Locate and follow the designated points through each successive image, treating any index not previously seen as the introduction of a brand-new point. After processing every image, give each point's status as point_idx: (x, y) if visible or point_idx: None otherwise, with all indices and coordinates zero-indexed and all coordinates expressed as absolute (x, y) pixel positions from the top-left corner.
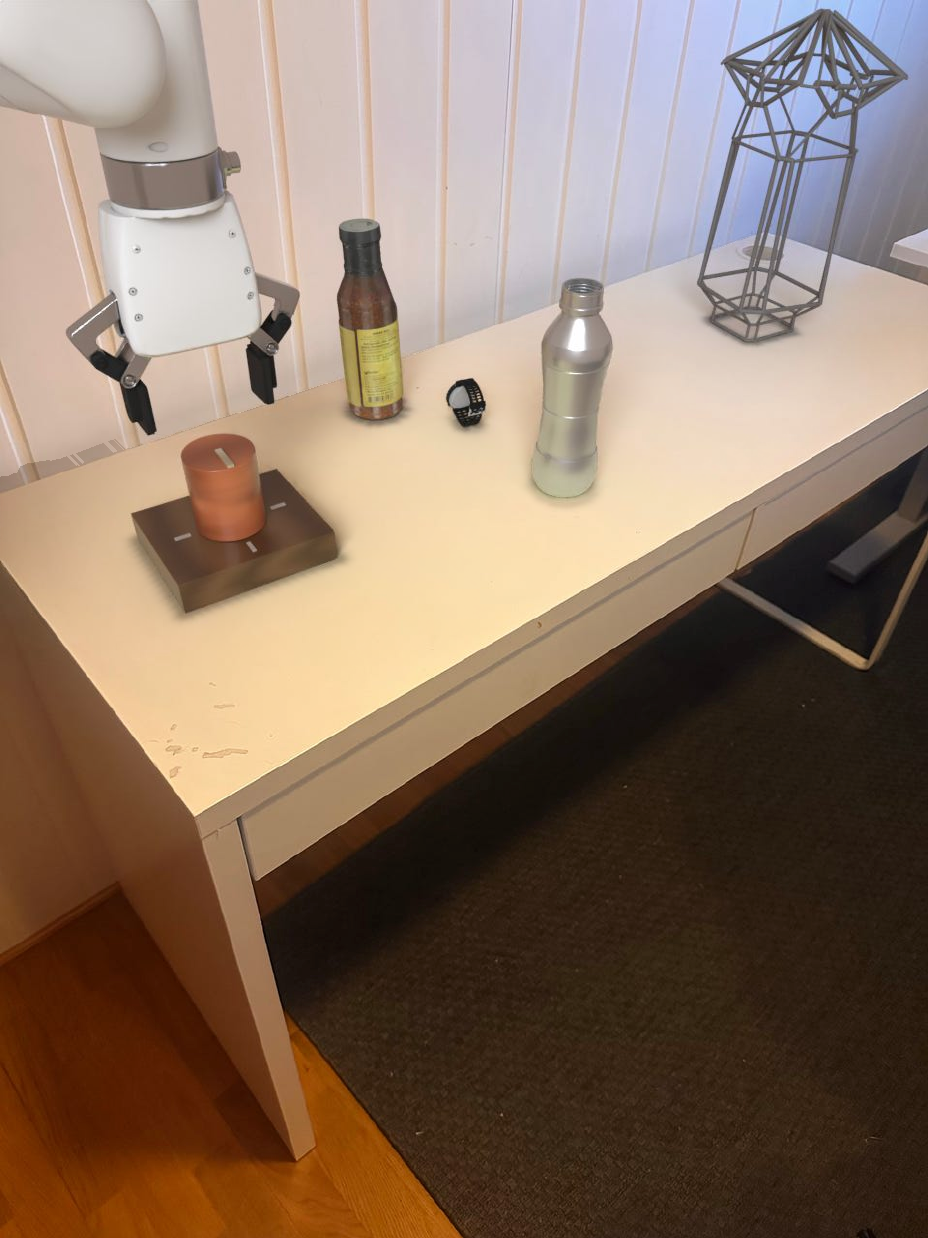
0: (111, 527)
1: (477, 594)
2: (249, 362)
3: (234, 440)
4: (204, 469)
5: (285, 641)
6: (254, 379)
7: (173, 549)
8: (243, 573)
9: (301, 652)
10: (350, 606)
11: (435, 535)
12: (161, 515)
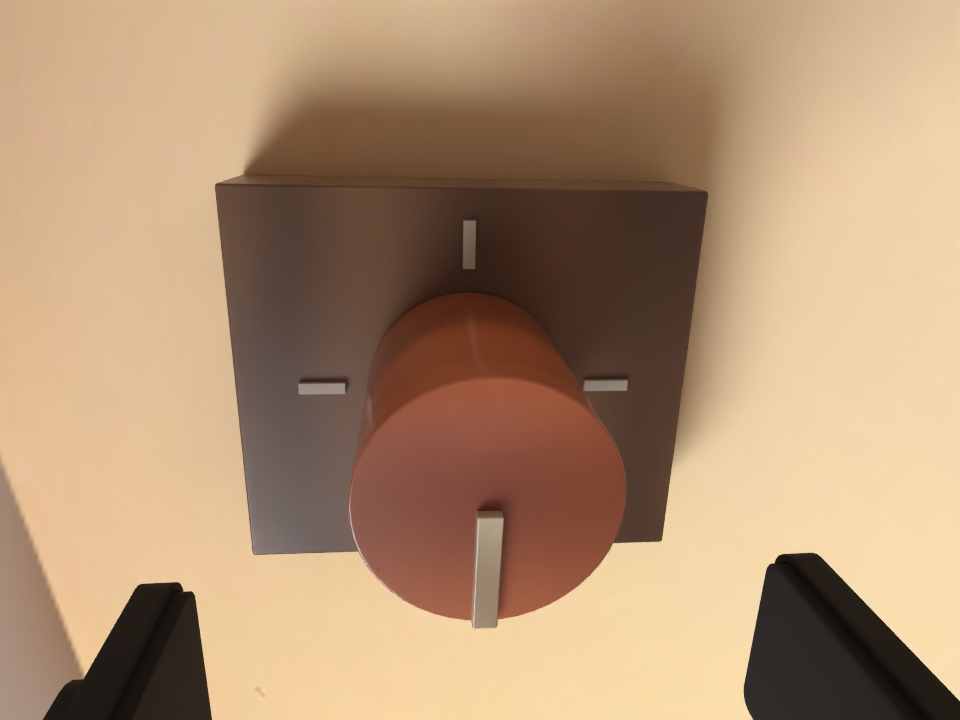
0: (181, 56)
1: None
2: (868, 712)
3: (576, 467)
4: (399, 588)
5: (420, 657)
6: (806, 677)
7: (283, 422)
8: None
9: (432, 690)
10: (572, 630)
11: (849, 526)
12: (299, 249)
